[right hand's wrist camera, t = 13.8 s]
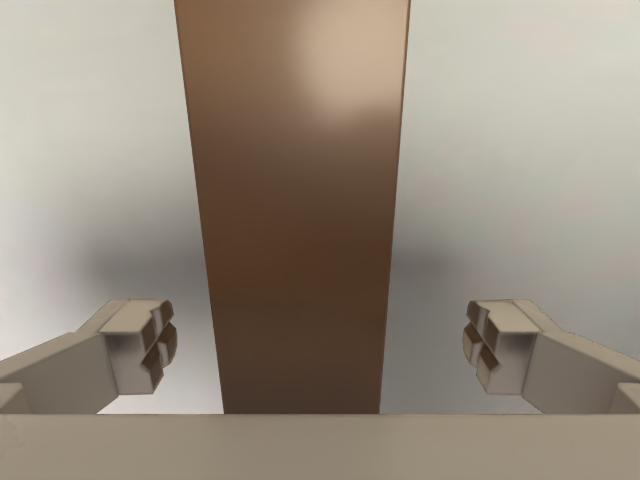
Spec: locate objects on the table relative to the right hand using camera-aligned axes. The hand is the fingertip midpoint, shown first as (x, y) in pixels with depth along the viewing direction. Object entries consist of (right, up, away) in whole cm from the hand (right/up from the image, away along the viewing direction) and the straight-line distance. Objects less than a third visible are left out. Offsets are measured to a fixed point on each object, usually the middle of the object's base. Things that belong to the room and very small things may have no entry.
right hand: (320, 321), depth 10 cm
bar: (-1, +11, +5) cm, 12 cm away
